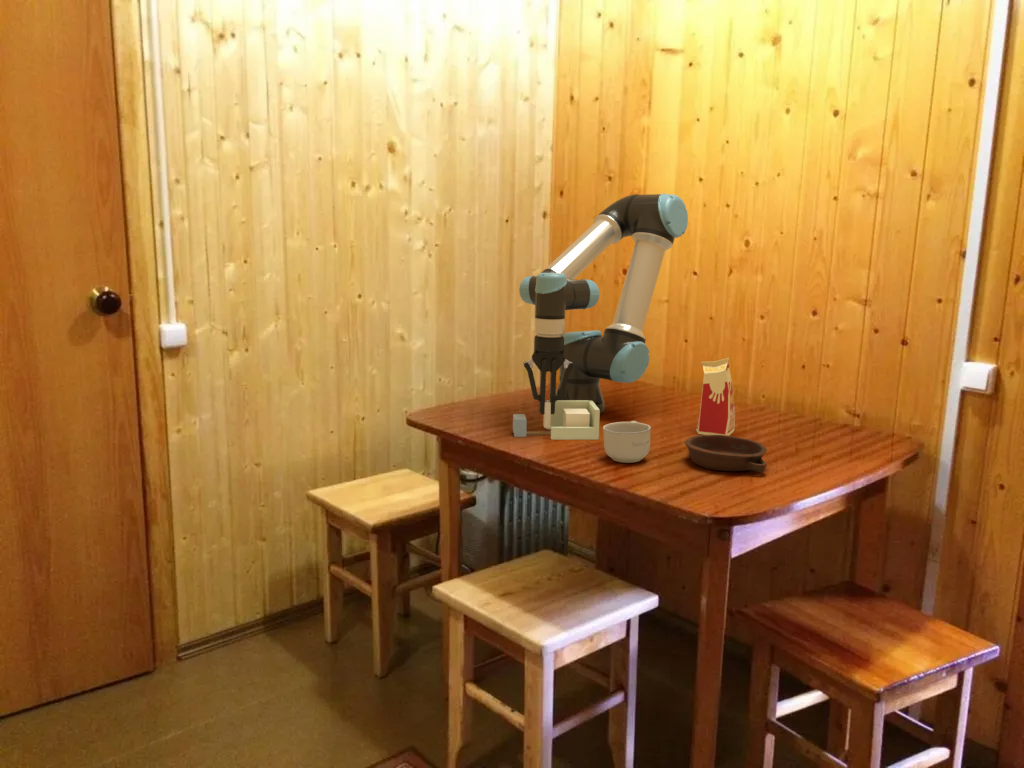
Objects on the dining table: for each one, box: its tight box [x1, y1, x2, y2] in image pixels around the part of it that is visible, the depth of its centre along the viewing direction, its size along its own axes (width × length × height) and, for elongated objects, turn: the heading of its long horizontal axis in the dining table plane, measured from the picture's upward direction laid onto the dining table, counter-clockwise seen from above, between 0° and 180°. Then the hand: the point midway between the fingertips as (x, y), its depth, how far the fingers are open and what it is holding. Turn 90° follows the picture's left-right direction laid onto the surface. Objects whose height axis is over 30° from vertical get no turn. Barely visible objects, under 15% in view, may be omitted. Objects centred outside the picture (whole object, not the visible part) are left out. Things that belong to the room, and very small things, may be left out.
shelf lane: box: [545, 399, 601, 441], centre depth 207 cm, size 12×11×8 cm
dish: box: [684, 434, 768, 473], centre depth 184 cm, size 18×22×5 cm
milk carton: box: [695, 357, 736, 436], centre depth 211 cm, size 9×9×20 cm
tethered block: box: [512, 409, 590, 438], centre depth 207 cm, size 19×6×6 cm, turn 94°
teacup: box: [602, 420, 652, 464], centre depth 187 cm, size 14×11×8 cm
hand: (546, 426), depth 207 cm, fingers closed
